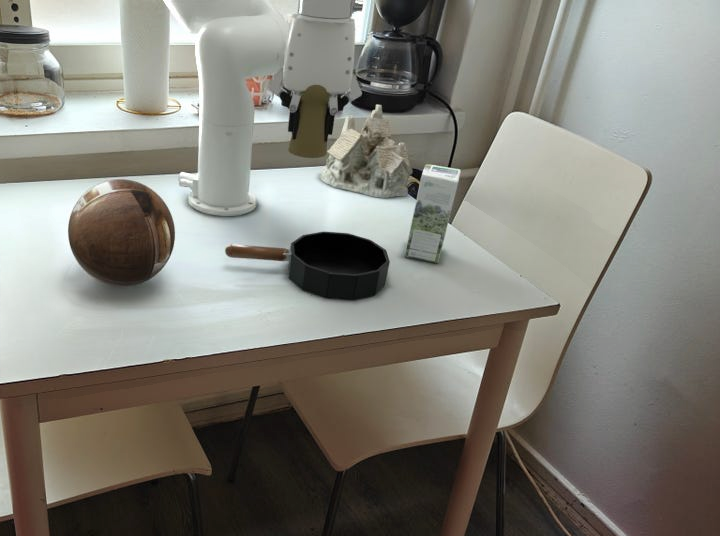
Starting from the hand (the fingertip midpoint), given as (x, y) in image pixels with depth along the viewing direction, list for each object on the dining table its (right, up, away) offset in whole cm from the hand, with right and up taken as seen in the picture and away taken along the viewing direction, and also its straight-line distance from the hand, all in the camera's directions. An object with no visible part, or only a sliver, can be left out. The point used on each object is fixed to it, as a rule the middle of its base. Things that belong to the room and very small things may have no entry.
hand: (309, 136), depth 110 cm
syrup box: (+20, -17, +10) cm, 28 cm away
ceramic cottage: (+15, +1, +36) cm, 39 cm away
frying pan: (-1, -21, +1) cm, 21 cm away
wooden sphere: (-28, -23, -4) cm, 36 cm away
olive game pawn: (0, -2, +1) cm, 2 cm away
